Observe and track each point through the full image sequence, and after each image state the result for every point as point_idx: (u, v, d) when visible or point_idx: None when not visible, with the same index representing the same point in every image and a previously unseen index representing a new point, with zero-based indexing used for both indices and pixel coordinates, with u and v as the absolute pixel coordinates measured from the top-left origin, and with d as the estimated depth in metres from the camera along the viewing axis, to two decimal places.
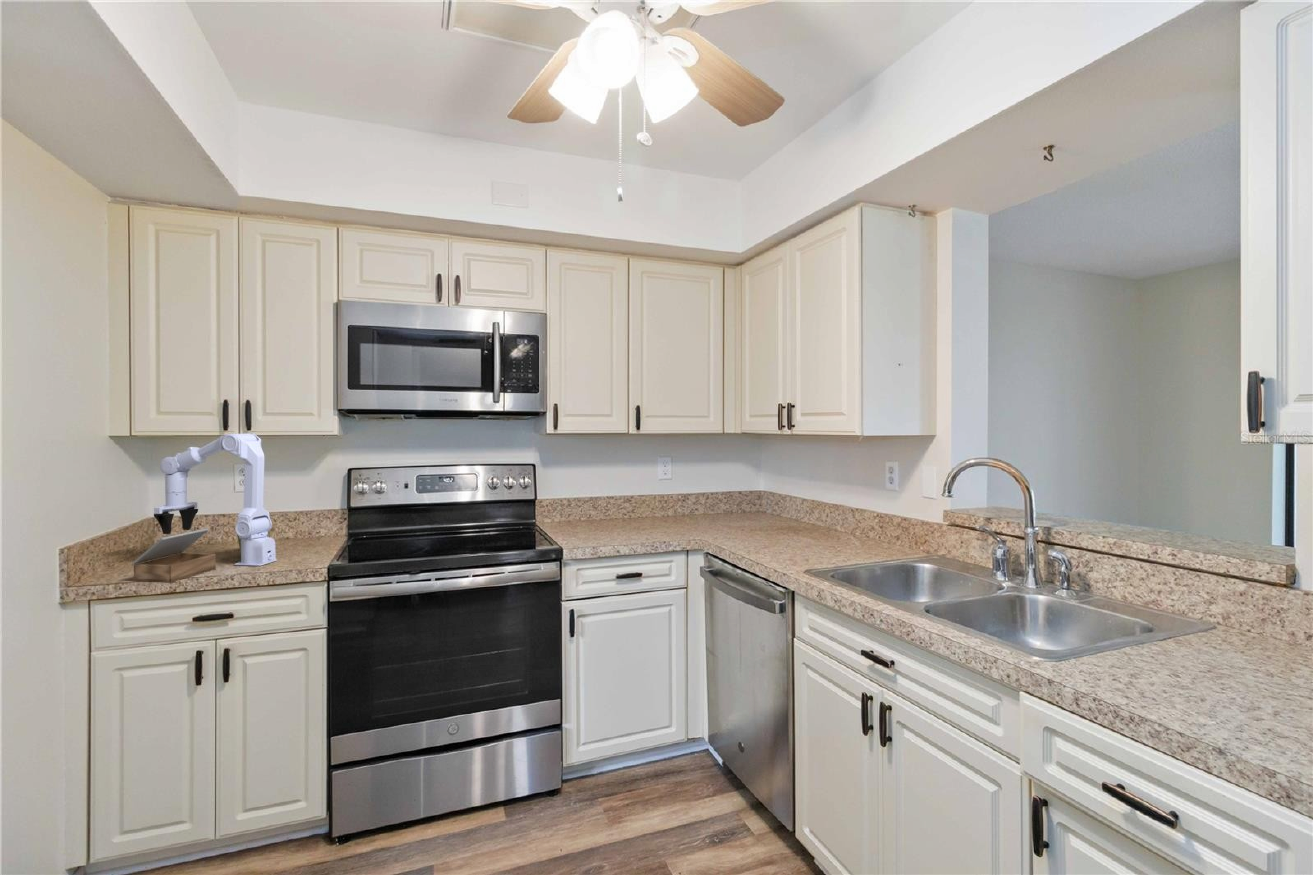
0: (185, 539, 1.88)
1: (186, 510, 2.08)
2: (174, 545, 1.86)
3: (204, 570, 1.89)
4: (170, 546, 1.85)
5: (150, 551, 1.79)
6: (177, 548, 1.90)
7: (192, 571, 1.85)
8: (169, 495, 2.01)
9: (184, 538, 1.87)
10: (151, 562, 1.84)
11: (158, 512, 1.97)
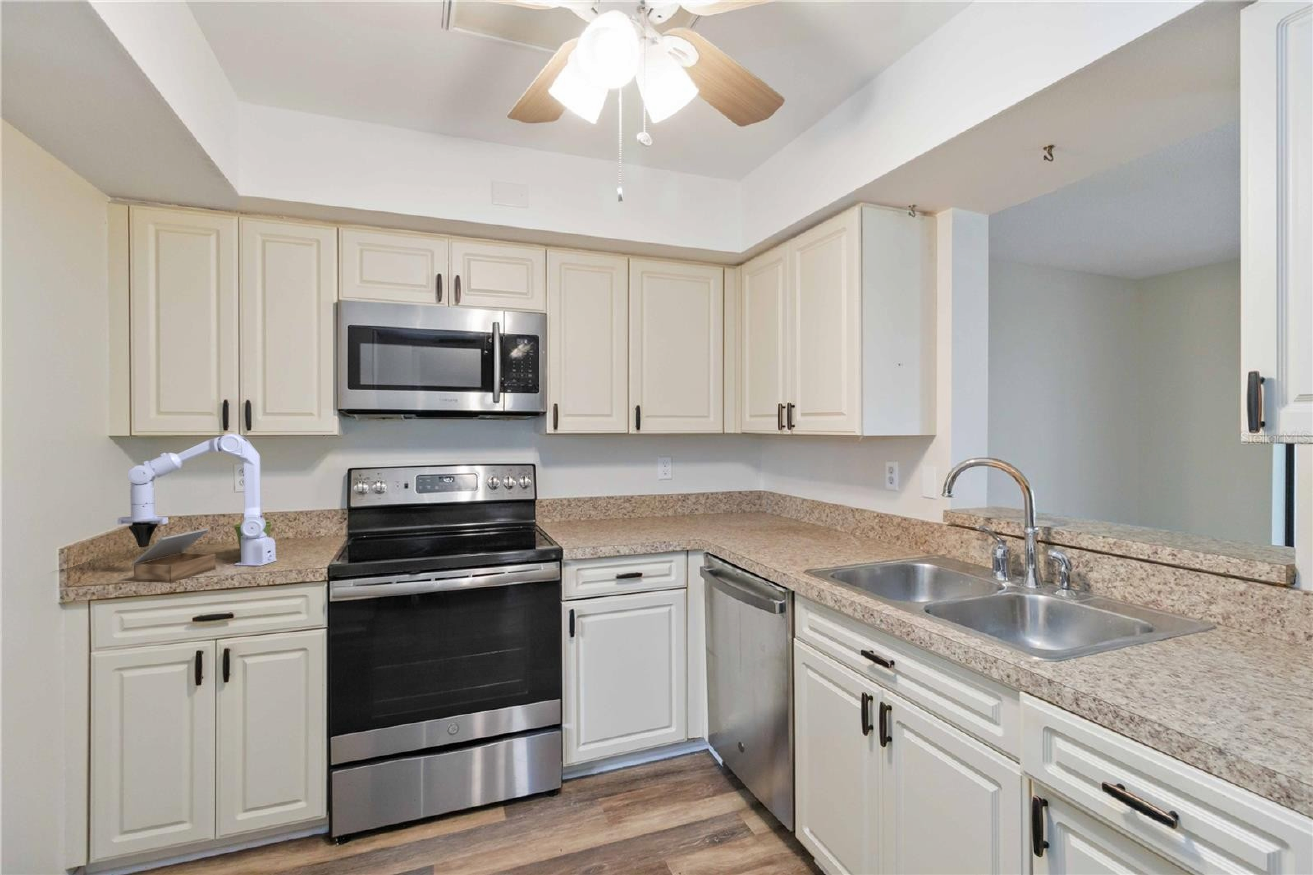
0: (185, 539, 1.88)
1: None
2: (174, 545, 1.86)
3: (204, 570, 1.89)
4: (170, 546, 1.85)
5: (150, 551, 1.79)
6: (177, 548, 1.90)
7: (192, 571, 1.85)
8: None
9: (184, 538, 1.87)
10: (151, 562, 1.84)
11: None
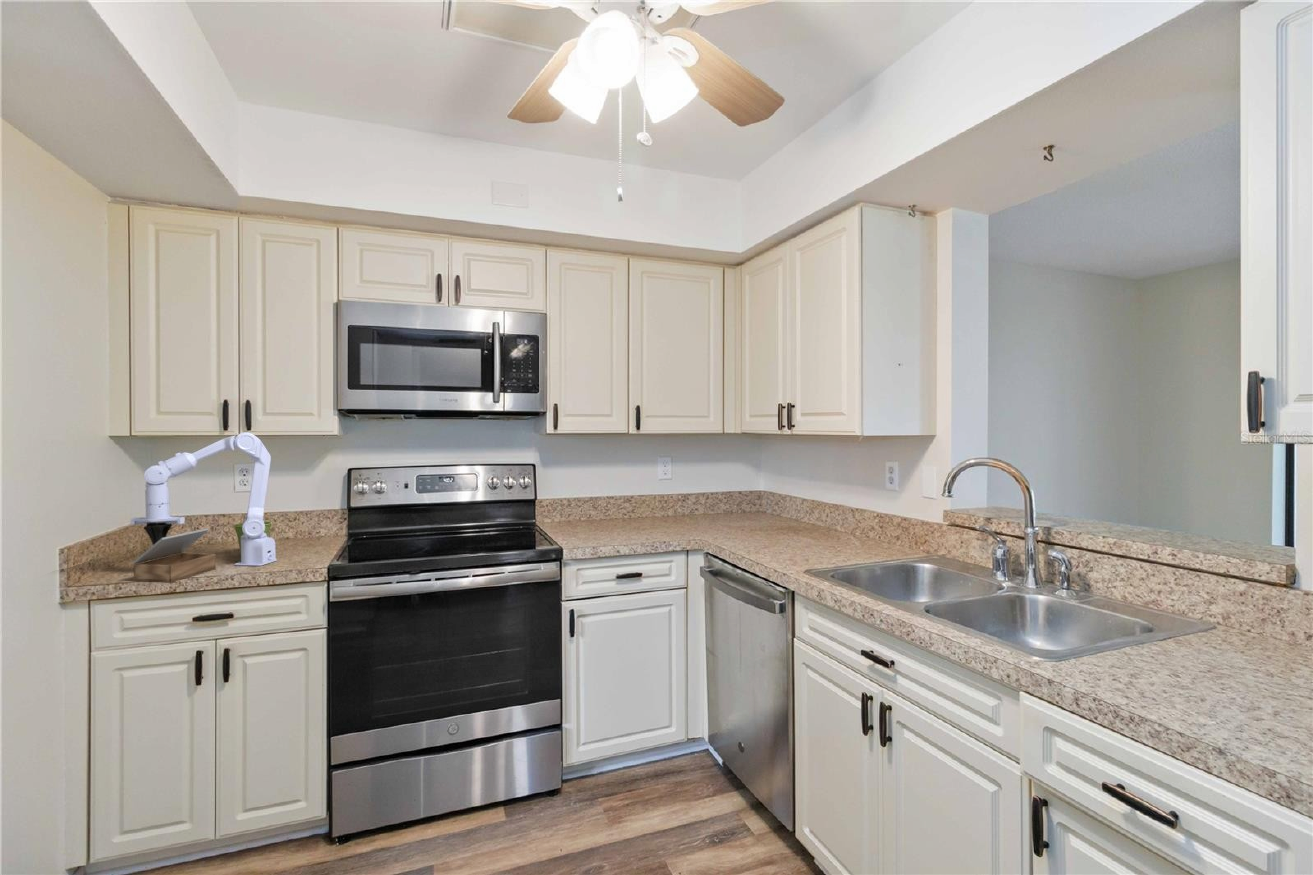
0: (185, 539, 1.88)
1: None
2: (174, 545, 1.86)
3: (204, 570, 1.89)
4: (170, 546, 1.85)
5: (150, 551, 1.79)
6: (177, 548, 1.90)
7: (192, 571, 1.85)
8: None
9: (184, 538, 1.87)
10: (151, 562, 1.84)
11: None
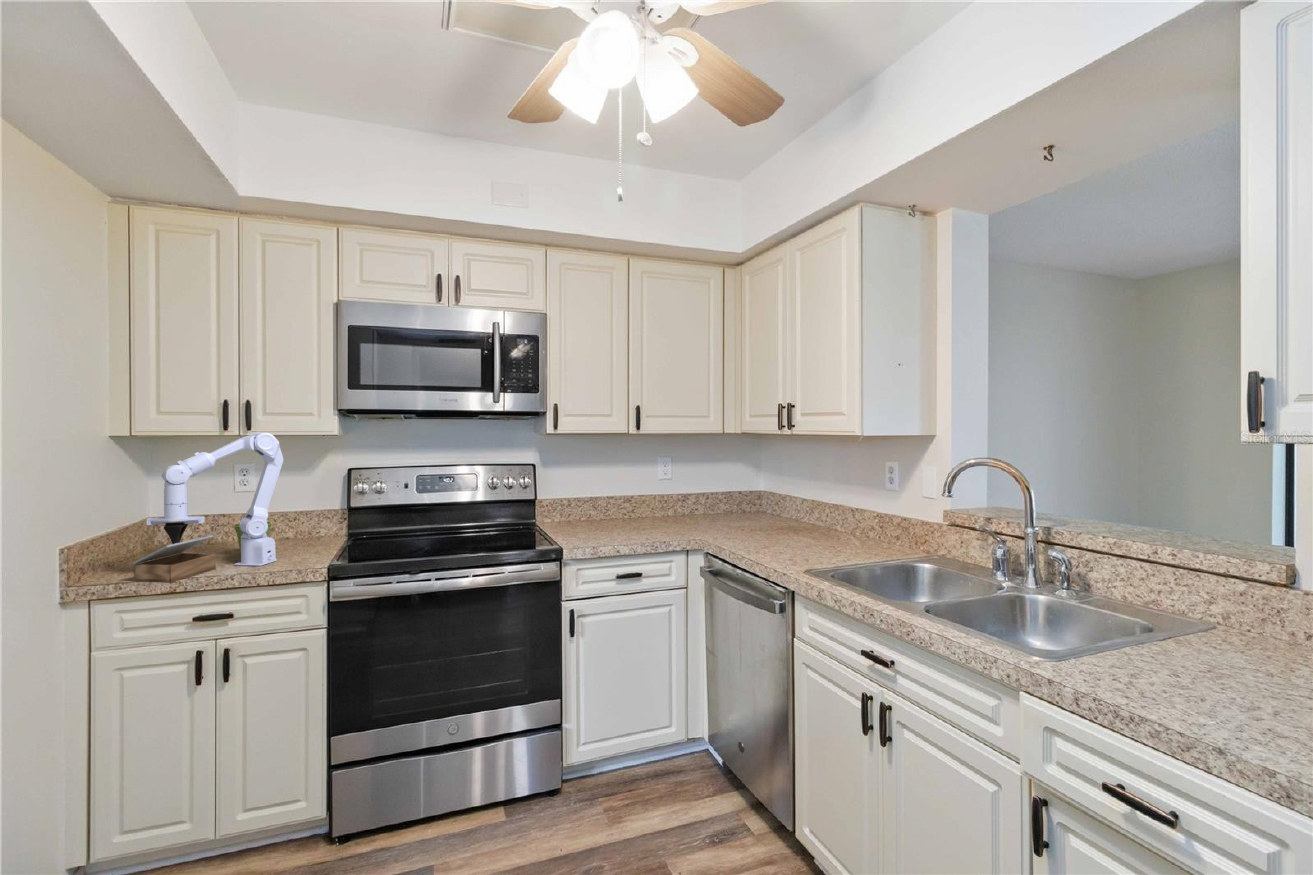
0: (188, 544, 1.88)
1: None
2: (176, 549, 1.86)
3: (204, 570, 1.89)
4: (172, 550, 1.85)
5: (152, 555, 1.79)
6: (178, 550, 1.90)
7: (192, 571, 1.85)
8: None
9: (187, 544, 1.87)
10: (151, 562, 1.84)
11: None
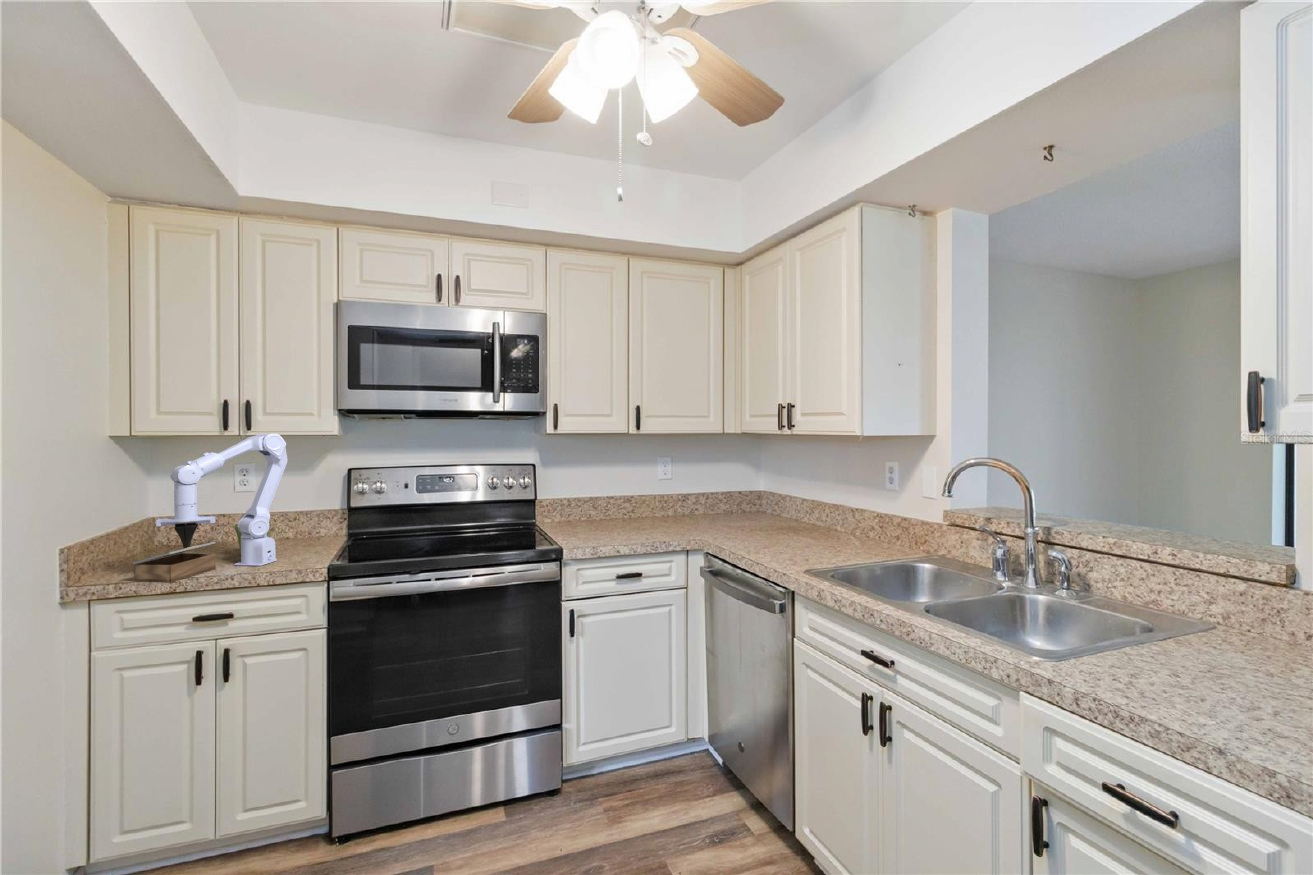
0: (190, 549, 1.88)
1: None
2: (178, 552, 1.86)
3: (204, 570, 1.89)
4: (174, 553, 1.85)
5: (154, 558, 1.79)
6: (179, 552, 1.90)
7: (192, 571, 1.85)
8: None
9: (189, 549, 1.87)
10: (151, 562, 1.84)
11: None
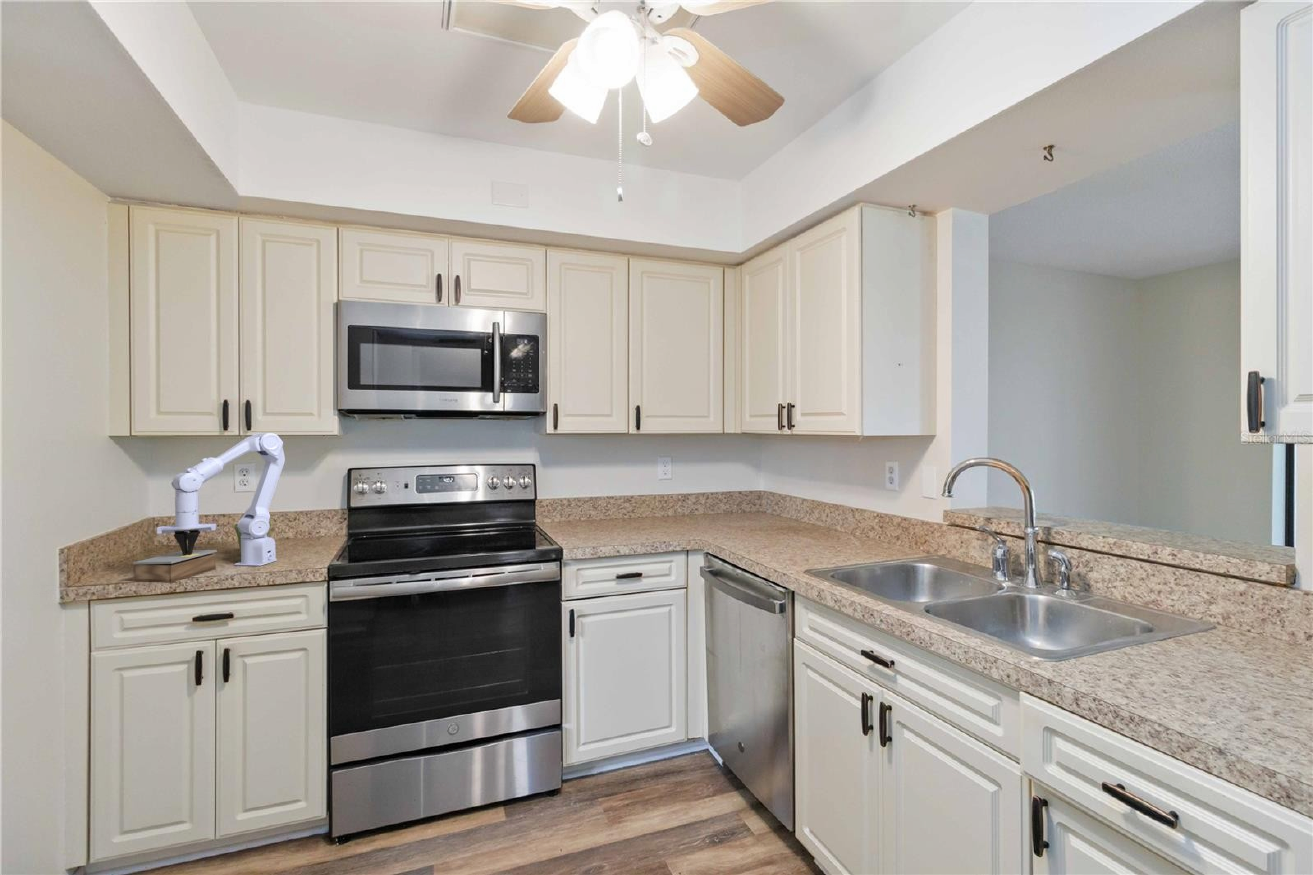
0: None
1: (189, 533, 1.87)
2: None
3: (204, 570, 1.89)
4: None
5: None
6: None
7: (192, 571, 1.85)
8: None
9: None
10: None
11: None
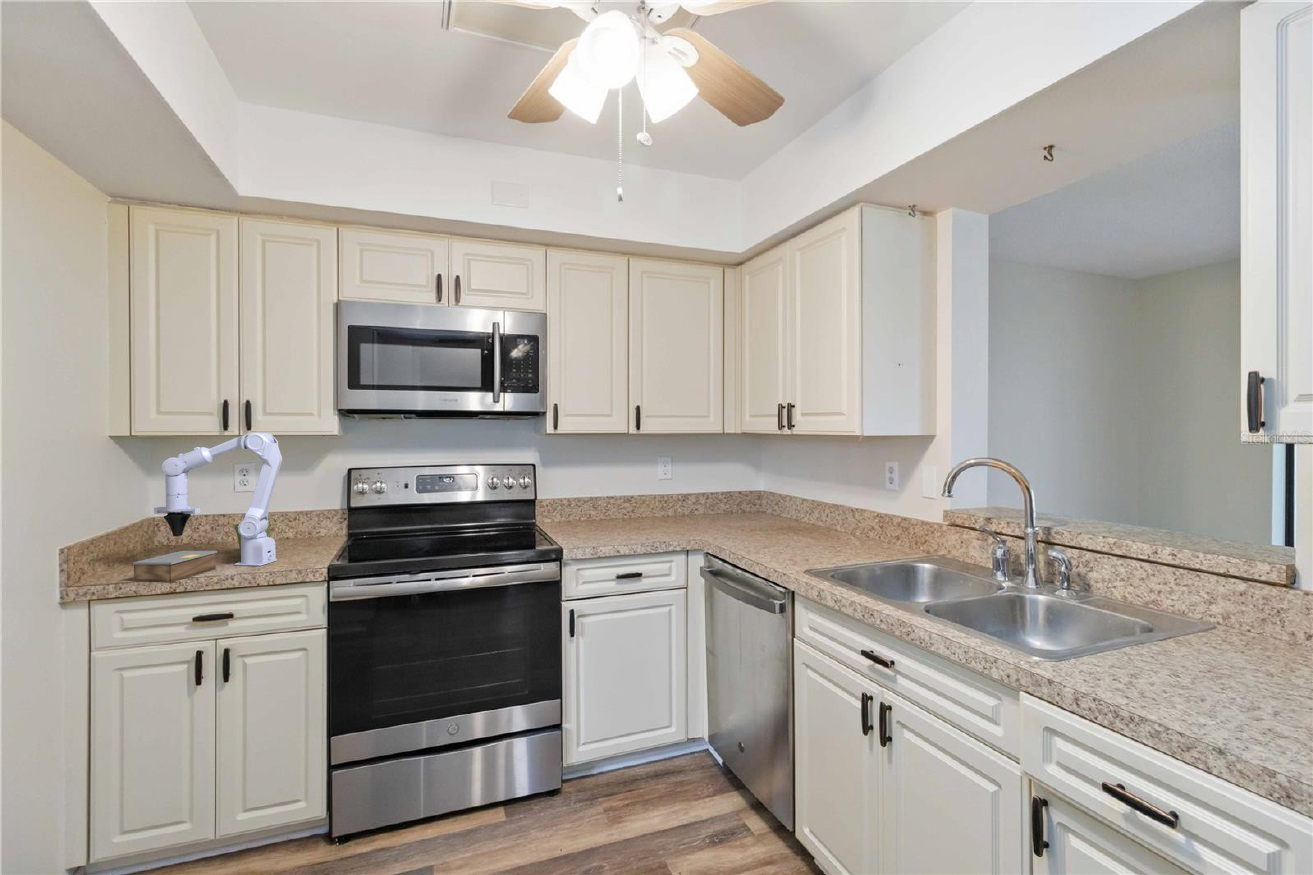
0: None
1: None
2: None
3: (204, 570, 1.89)
4: None
5: None
6: None
7: (192, 571, 1.85)
8: None
9: None
10: None
11: None
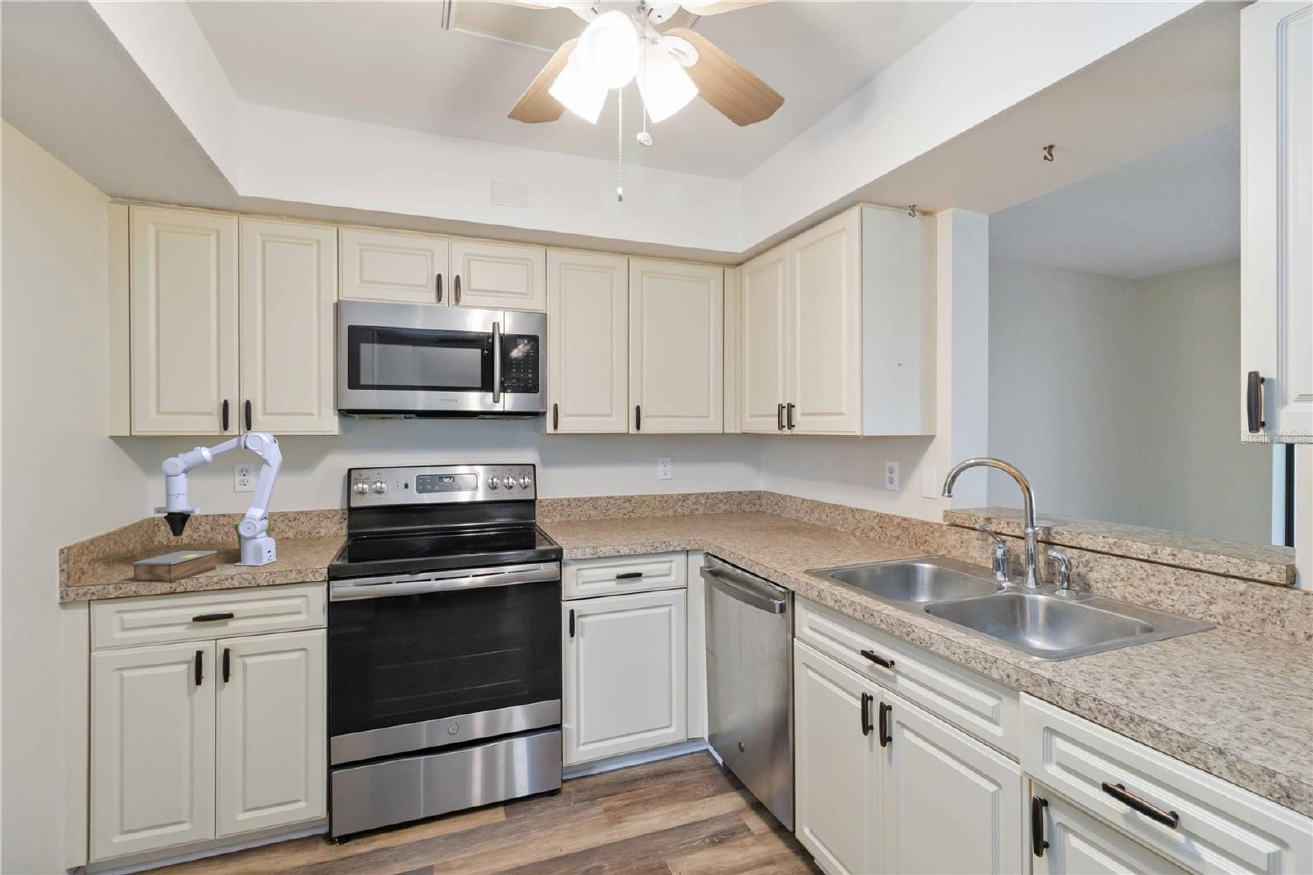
0: None
1: None
2: None
3: (204, 570, 1.89)
4: None
5: None
6: None
7: (192, 571, 1.85)
8: None
9: None
10: None
11: None
